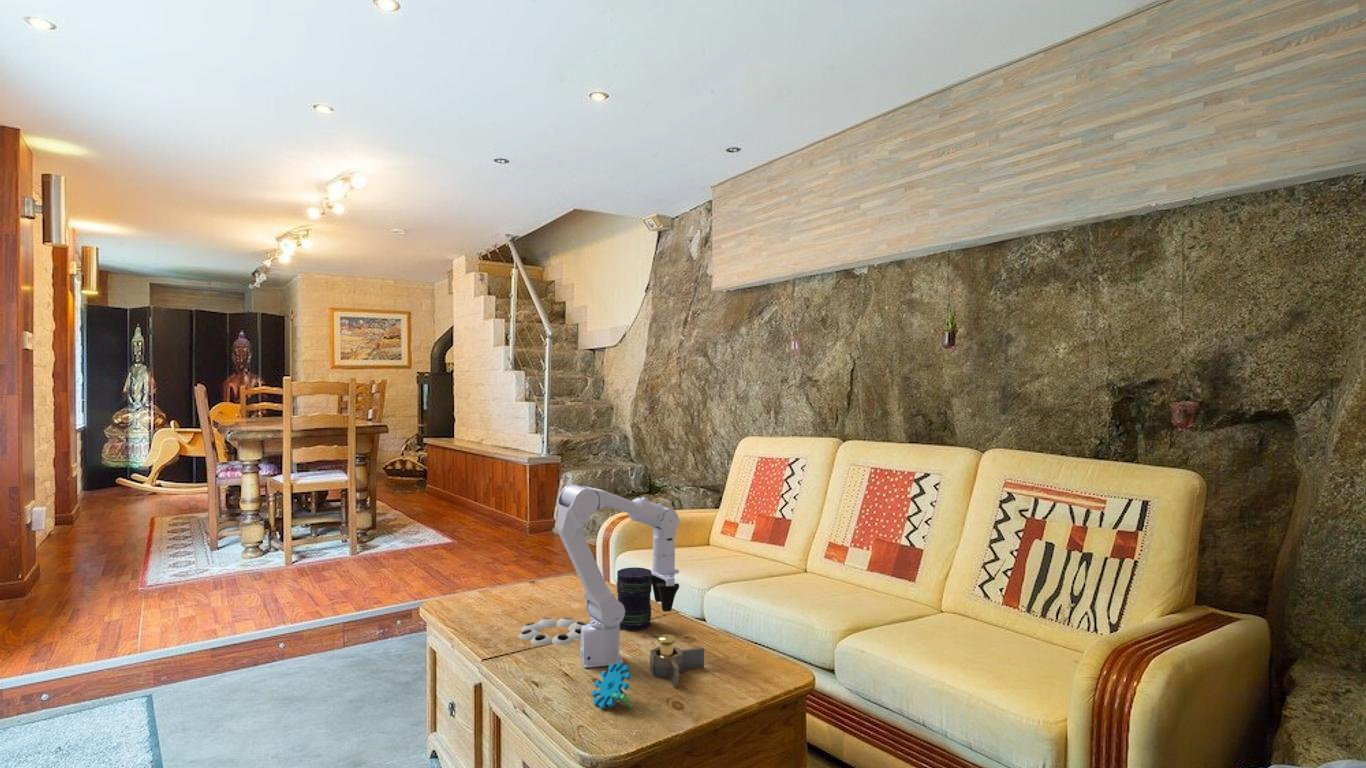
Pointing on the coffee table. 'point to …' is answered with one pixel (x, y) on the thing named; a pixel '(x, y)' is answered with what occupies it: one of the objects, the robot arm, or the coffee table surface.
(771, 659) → the coffee table surface
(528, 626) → the ring
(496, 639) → the coffee table surface
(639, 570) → the storage jar
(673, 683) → the hinge
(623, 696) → the gear
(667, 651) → the hinge pin
